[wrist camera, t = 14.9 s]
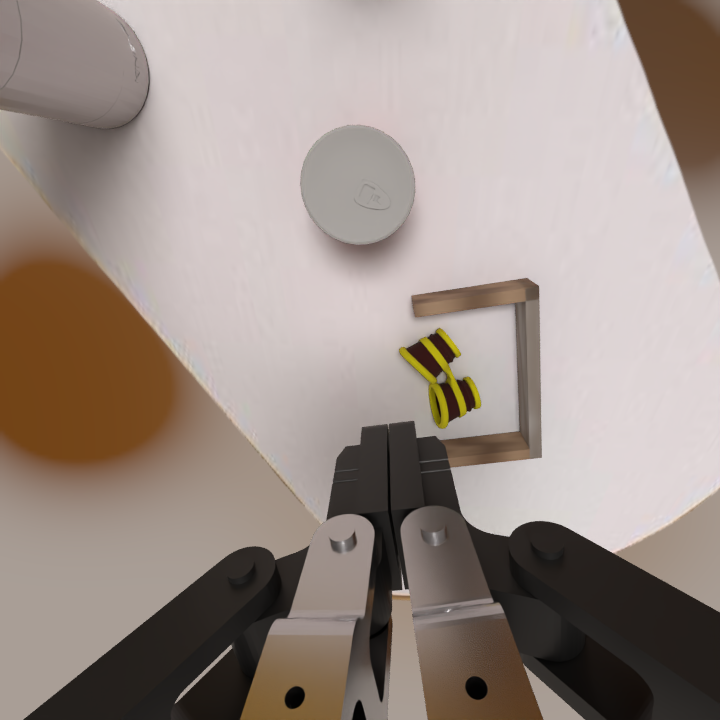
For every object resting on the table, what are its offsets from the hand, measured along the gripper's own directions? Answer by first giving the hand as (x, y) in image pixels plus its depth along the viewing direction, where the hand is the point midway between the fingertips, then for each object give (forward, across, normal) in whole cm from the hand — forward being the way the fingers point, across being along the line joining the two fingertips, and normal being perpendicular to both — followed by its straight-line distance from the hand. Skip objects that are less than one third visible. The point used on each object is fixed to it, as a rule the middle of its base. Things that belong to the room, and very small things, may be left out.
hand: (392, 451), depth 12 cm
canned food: (+32, +1, -7) cm, 33 cm away
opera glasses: (+32, -4, +12) cm, 35 cm away
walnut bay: (+32, -7, +13) cm, 35 cm away
